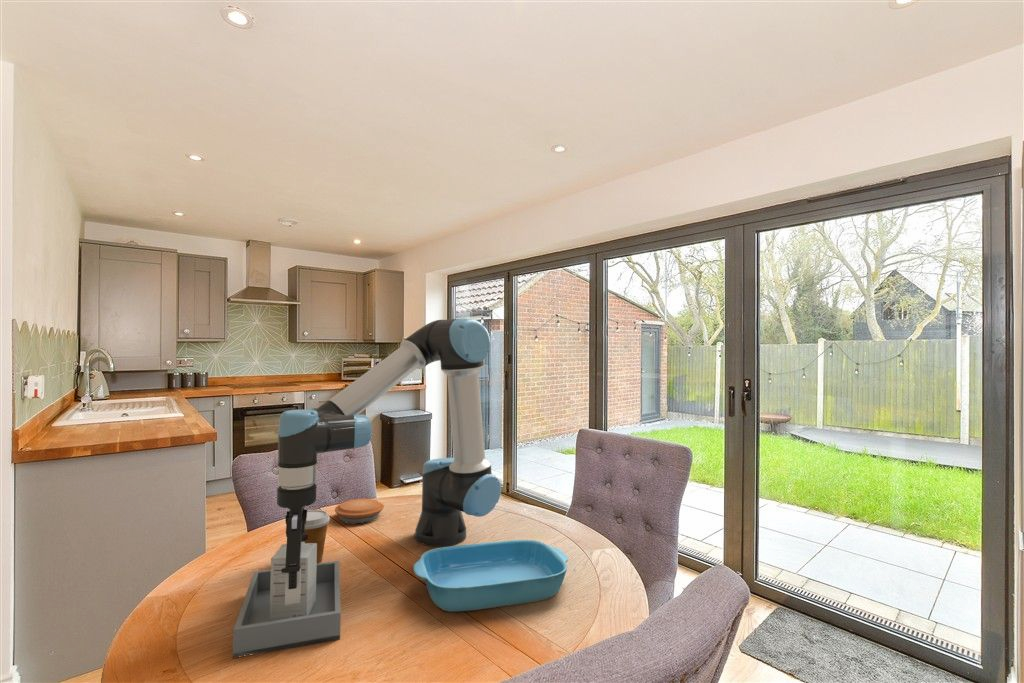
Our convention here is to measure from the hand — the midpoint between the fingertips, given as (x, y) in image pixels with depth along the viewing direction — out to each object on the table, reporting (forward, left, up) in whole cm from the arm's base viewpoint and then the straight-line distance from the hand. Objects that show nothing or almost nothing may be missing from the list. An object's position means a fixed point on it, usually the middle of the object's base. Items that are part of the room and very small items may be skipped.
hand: (295, 586), depth 100 cm
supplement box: (0, 0, -5) cm, 5 cm away
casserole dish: (-43, +3, -6) cm, 43 cm away
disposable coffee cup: (-2, -26, -6) cm, 27 cm away
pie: (-16, -56, -6) cm, 58 cm away
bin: (0, 0, -6) cm, 6 cm away
